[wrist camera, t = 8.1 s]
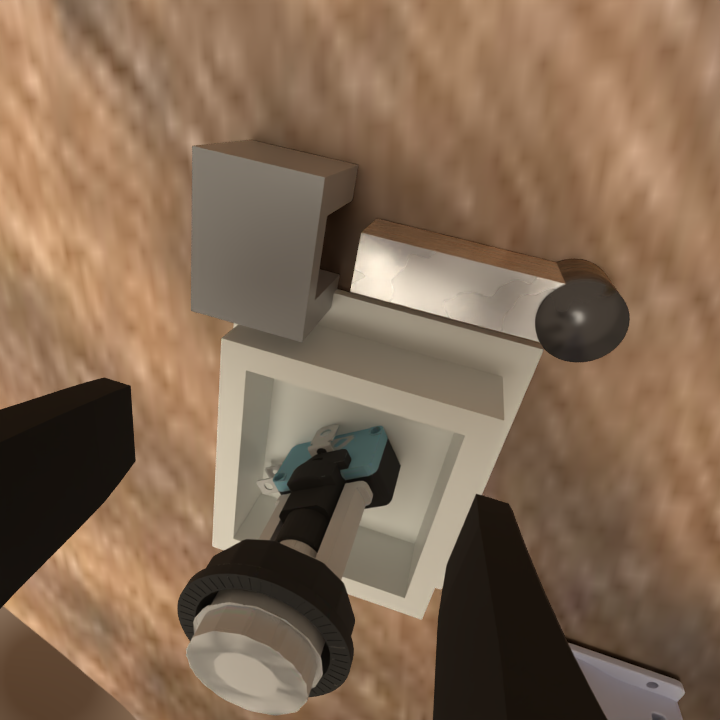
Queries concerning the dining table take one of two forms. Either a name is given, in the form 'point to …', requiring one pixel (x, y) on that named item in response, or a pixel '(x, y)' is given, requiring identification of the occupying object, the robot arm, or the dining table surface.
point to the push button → (289, 579)
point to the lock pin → (493, 289)
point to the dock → (339, 369)
